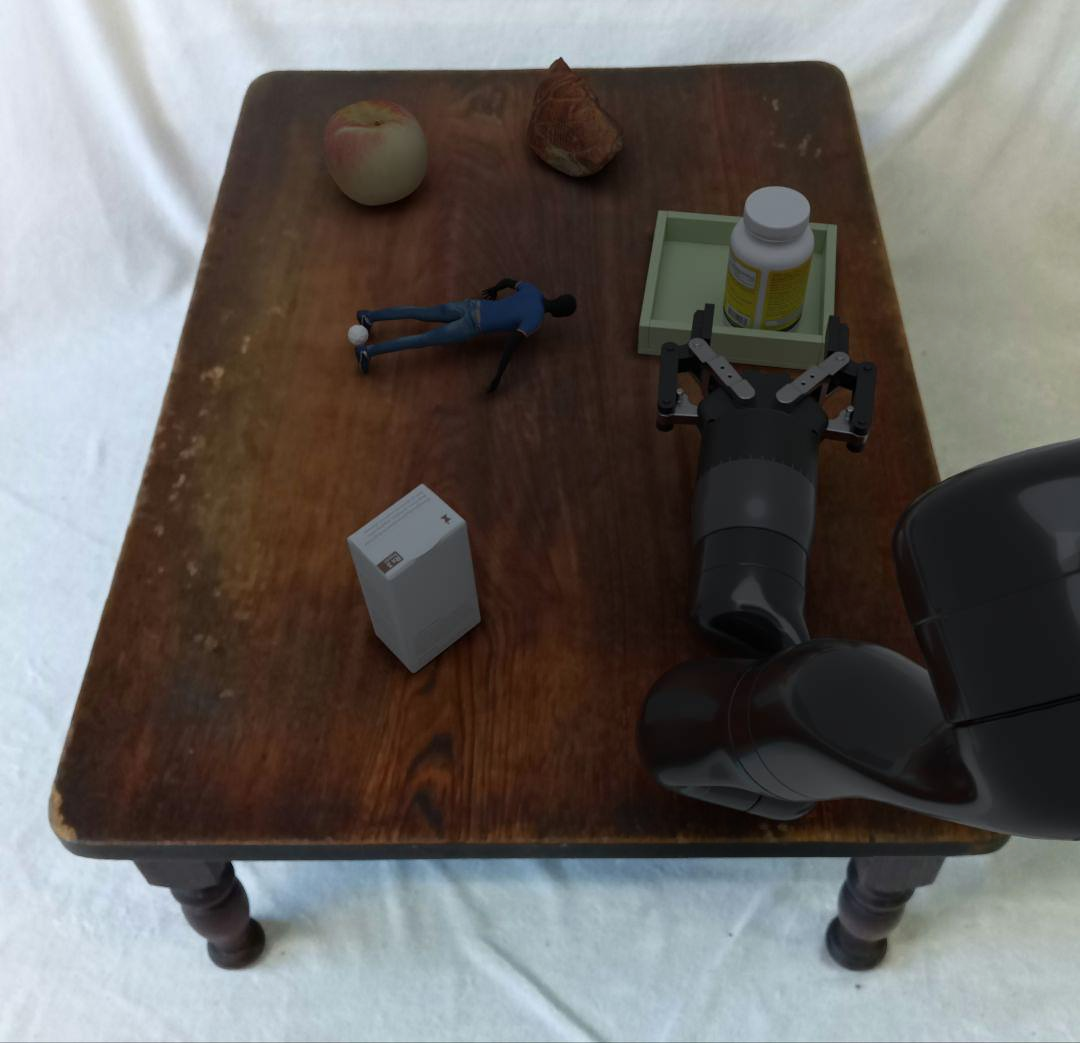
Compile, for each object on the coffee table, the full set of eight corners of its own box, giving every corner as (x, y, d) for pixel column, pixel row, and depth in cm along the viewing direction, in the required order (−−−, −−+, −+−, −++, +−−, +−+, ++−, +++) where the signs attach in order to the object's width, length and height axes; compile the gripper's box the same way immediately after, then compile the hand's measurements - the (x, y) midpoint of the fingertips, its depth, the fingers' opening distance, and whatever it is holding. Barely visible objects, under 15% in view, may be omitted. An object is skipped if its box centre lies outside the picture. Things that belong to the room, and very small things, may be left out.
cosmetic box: (442, 584, 81) (422, 474, 72) (485, 625, 79) (470, 517, 70) (371, 638, 79) (340, 532, 69) (413, 682, 77) (388, 579, 67)
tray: (830, 253, 100) (837, 224, 97) (826, 372, 92) (833, 343, 89) (656, 238, 101) (658, 209, 99) (637, 353, 94) (638, 325, 91)
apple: (315, 190, 107) (298, 112, 100) (395, 148, 110) (383, 70, 103) (372, 238, 103) (357, 160, 96) (453, 192, 106) (444, 114, 99)
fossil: (522, 68, 111) (569, 6, 102) (601, 97, 114) (654, 39, 105) (508, 190, 107) (556, 137, 99) (591, 216, 111) (644, 167, 102)
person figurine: (359, 419, 93) (587, 383, 91) (341, 380, 89) (578, 342, 87) (364, 319, 99) (577, 283, 97) (347, 279, 95) (569, 241, 93)
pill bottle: (805, 297, 96) (827, 185, 87) (793, 351, 92) (815, 240, 83) (728, 285, 97) (742, 173, 88) (714, 338, 93) (727, 227, 84)
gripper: (884, 476, 70) (885, 286, 79) (642, 450, 72) (671, 267, 81) (860, 549, 76) (864, 365, 85) (638, 523, 78) (665, 345, 87)
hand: (770, 317), depth 83 cm, fingers open, 8 cm apart
